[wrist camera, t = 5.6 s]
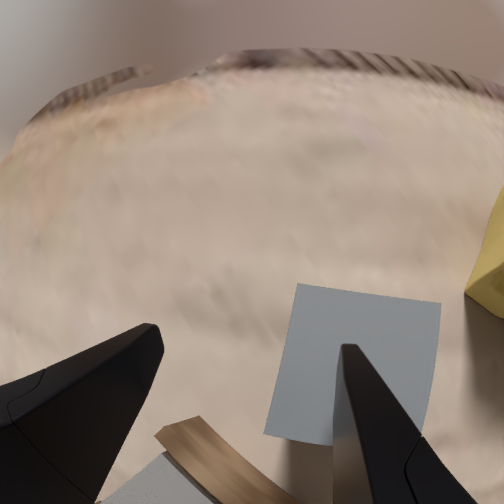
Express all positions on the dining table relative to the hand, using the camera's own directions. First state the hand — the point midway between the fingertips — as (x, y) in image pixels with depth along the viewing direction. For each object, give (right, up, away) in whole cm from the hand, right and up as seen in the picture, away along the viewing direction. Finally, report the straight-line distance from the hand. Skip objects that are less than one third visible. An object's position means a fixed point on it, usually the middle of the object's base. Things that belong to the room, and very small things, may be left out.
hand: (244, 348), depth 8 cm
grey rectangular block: (+6, -6, +11) cm, 14 cm away
